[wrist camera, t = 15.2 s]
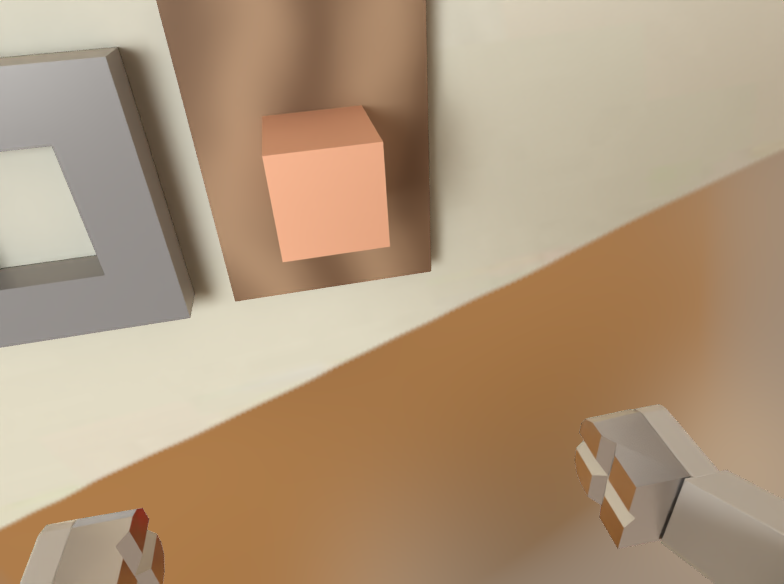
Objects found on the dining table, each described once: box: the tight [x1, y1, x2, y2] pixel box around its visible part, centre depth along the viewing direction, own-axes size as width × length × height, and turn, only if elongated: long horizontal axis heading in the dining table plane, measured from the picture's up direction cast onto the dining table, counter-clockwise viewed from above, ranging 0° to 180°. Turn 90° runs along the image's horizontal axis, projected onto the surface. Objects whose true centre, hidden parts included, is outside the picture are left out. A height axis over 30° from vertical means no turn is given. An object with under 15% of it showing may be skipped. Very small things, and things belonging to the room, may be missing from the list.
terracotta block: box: [262, 105, 390, 262], centre depth 26 cm, size 5×5×6 cm
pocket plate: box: [0, 47, 195, 348], centre depth 27 cm, size 14×14×2 cm
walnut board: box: [156, 0, 431, 301], centre depth 29 cm, size 12×16×2 cm
